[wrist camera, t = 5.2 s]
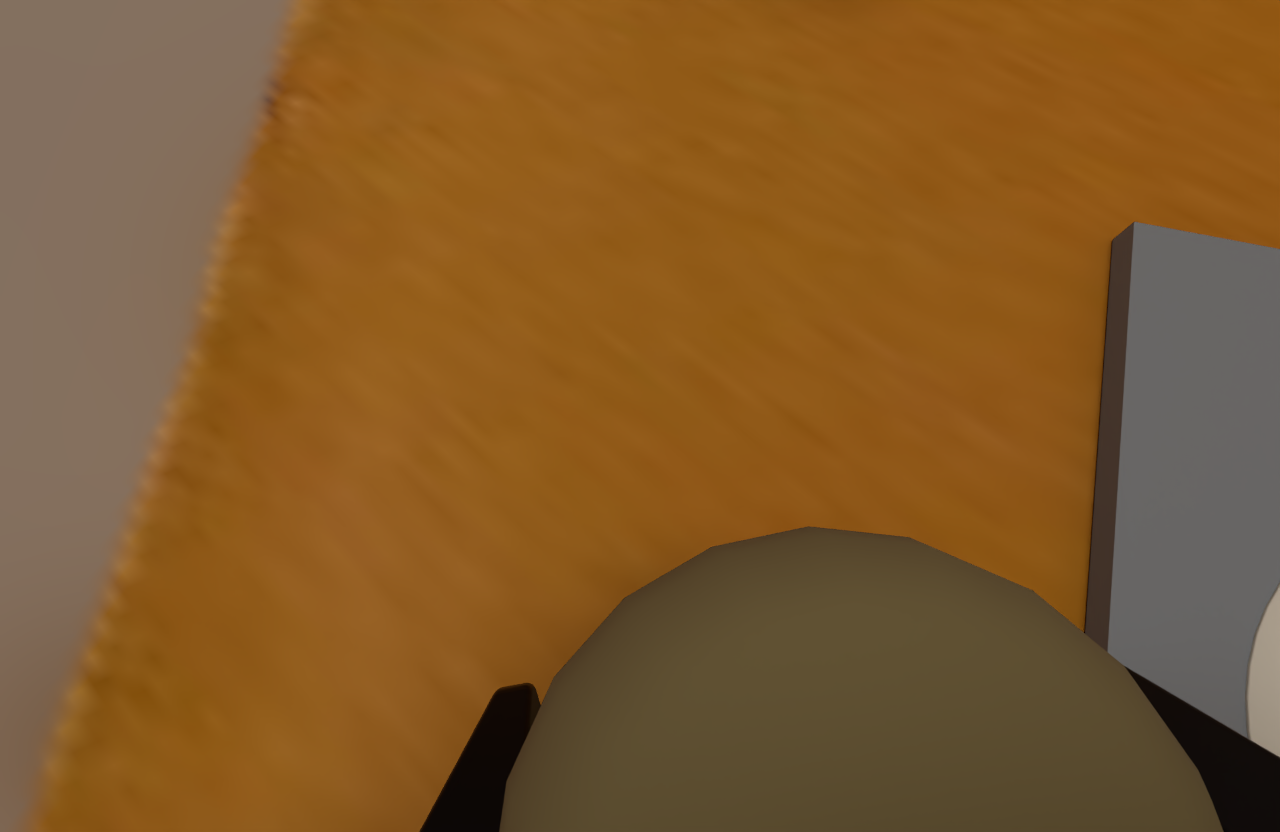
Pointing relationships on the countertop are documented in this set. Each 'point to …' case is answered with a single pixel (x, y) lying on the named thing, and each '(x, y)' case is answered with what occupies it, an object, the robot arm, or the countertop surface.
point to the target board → (1192, 474)
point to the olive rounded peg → (846, 706)
